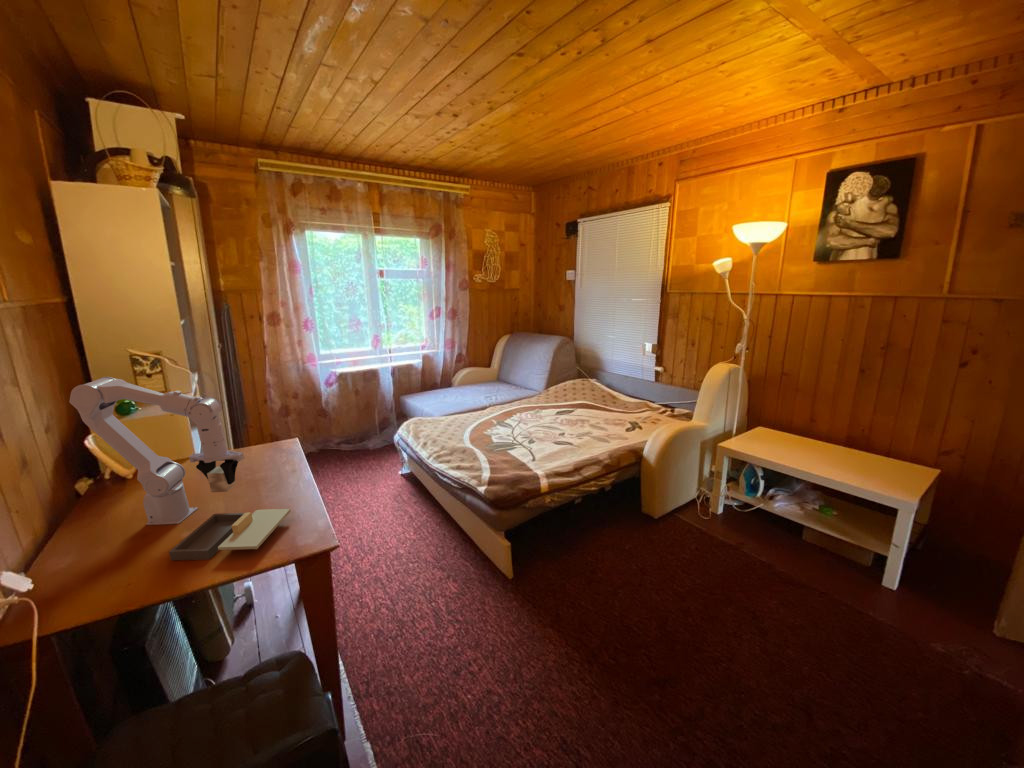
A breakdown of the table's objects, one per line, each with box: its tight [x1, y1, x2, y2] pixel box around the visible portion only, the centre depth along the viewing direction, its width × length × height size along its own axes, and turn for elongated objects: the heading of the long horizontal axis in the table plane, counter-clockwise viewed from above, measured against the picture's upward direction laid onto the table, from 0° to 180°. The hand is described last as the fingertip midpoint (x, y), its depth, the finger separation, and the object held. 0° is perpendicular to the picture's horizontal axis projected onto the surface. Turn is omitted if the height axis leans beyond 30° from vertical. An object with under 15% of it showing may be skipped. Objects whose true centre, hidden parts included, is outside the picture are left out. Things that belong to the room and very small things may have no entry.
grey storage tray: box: [168, 512, 245, 561], centre depth 112 cm, size 10×17×2 cm, turn 0°
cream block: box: [207, 465, 237, 493], centre depth 124 cm, size 4×4×6 cm
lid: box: [218, 508, 291, 551], centre depth 111 cm, size 10×17×3 cm, turn 0°
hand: (222, 483), depth 124 cm, fingers closed on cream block, 4 cm apart
